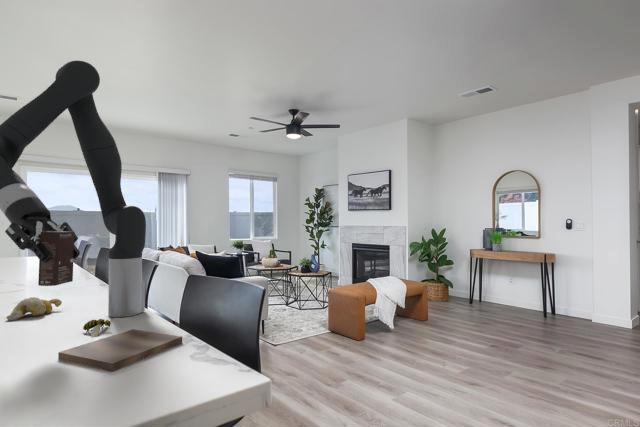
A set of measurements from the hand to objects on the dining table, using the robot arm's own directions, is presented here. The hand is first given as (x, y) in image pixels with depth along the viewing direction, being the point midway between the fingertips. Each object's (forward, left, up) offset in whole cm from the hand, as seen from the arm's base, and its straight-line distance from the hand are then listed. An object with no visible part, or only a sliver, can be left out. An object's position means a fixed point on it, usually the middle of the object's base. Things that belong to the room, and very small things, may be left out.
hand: (62, 258), depth 86 cm
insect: (-12, -4, -20) cm, 24 cm away
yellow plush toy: (-16, -39, -21) cm, 47 cm away
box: (0, -2, -6) cm, 6 cm away
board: (-4, +15, -20) cm, 26 cm away
